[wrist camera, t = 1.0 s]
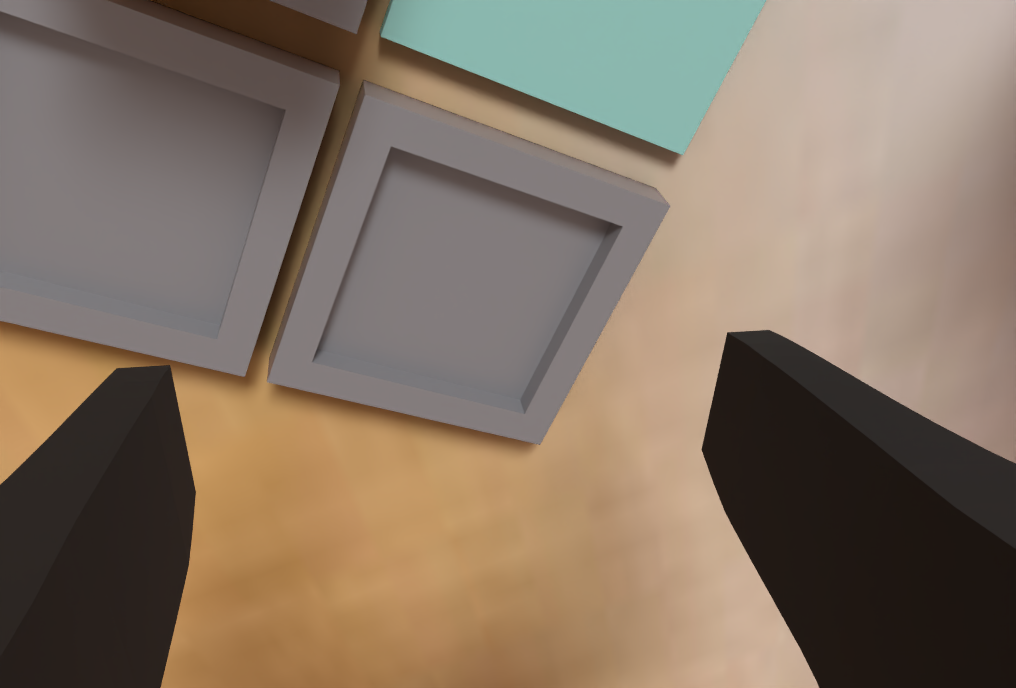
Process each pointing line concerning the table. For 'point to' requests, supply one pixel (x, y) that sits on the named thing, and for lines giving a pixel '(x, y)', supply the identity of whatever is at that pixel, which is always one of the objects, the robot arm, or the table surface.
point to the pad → (590, 53)
